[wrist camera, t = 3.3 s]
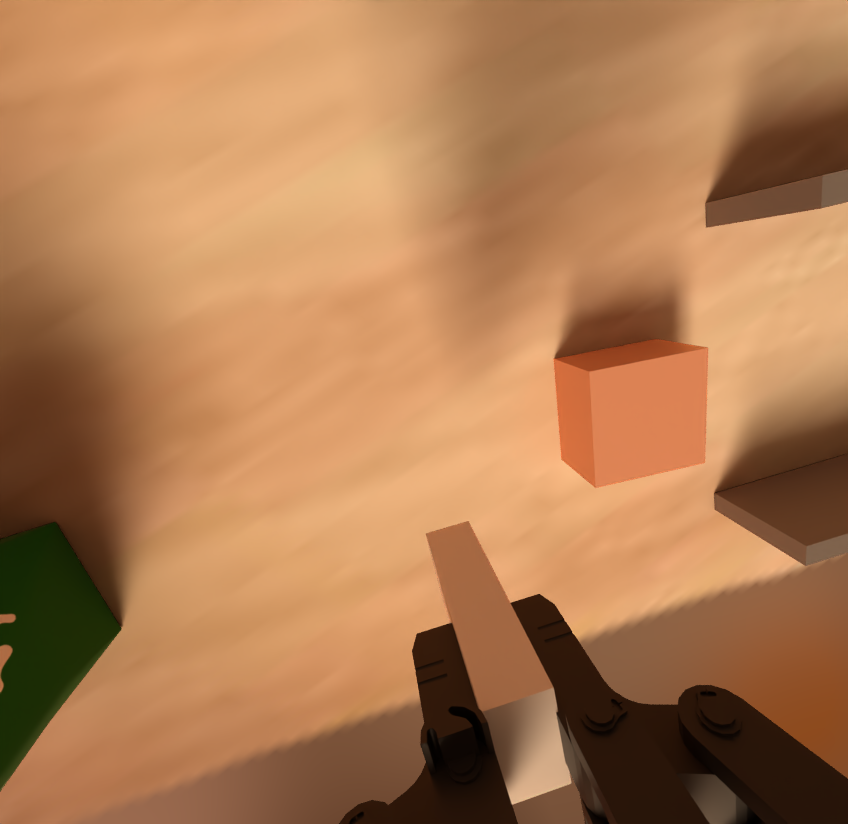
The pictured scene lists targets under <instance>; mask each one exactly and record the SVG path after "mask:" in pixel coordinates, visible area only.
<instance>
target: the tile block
mask: <svg viewBox="0 0 848 824" xmlns="http://www.w3.org/2000/svg"><path fill="white" fill-rule="evenodd" d="M554 369H555V382H556V395H557V408H558V421H559V434H560V446H561V459H562V460H563V461H564V462H565V463H566V464H567V465H569V466H570V467H571V468H572V469H573V470H575V471H576V472H577V473H578V474H579V475H581V476H582V477H583V478H584V479H585V480H587V481H588V482H589V483H590V484H591V485H593V486H594V487H595V488H597V487H602V486H606V485H610V484H615V483H619V482H624V481H628V480H632V479H637V478H641V477H645V476H650V475H654V474H658V473H663V472H667V471H672V470H676V469H680V468H685V467H689V466H693V465H698V464H702V463H705V445H706V408H707V370H708V348H706V347H700V346H695V345H689V344H683V343H677V342H671V341H666V340H660V339H653V340H648V341H642V342H637V343H632V344H627V345H622V346H617V347H612V348H607V349H602V350H597V351H591V352H586V353H581V354H576V355H571V356H566V357H561V358H556V359H554Z"/></svg>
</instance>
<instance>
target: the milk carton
mask: <svg viewBox="0 0 848 824" xmlns="http://www.w3.org/2000/svg"><path fill="white" fill-rule="evenodd" d="M120 631H121V627H120V625H119V624H118V622H117V621H116V619H115V617H114V616H113V614H112V612H111V611H110V609H109V608H108V606H107V604H106V603H105V601H104V600H103V598H102V596H101V595H100V593H99V591H98V590H97V588H96V587H95V585H94V583H93V582H92V580H91V579H90V577H89V575H88V574H87V572H86V570H85V569H84V567H83V566H82V564H81V562H80V561H79V559H78V558H77V556H76V554H75V553H74V551H73V549H72V548H71V546H70V545H69V543H68V541H67V540H66V538H65V537H64V535H63V533H62V532H61V530H60V528H59V527H58V525H57V524H56V522H53V523H50V524H47V525H44V526H40V527H37V528H34V529H31V530H28V531H24V532H21V533H18V534H15V535H12V536H8V537H5V538H2V539H0V791H1V790H2V788H3V787H4V786H5V784H6V783H7V781H8V780H9V779H10V777H11V776H12V774H13V773H14V771H15V770H16V769H17V767H18V766H19V764H20V763H21V761H22V760H23V759H24V757H25V756H26V754H27V753H28V751H29V750H30V749H31V747H32V746H33V744H34V743H35V742H36V740H37V739H38V737H39V736H40V734H41V733H42V732H43V730H44V729H45V727H46V726H47V725H48V723H49V722H50V721H51V719H52V718H53V717H54V715H55V714H56V713H57V711H58V710H59V709H60V708H61V706H62V705H63V704H64V702H65V701H66V700H67V699H68V697H69V696H70V695H71V694H72V692H73V691H74V690H75V688H76V687H77V686H78V685H79V683H80V682H81V681H82V679H83V678H84V677H85V676H86V674H87V673H88V672H89V670H90V669H91V668H92V667H93V665H94V664H95V663H96V661H97V660H98V659H99V658H100V656H101V655H102V654H103V652H104V651H105V650H106V649H107V647H108V646H109V645H110V643H111V642H112V641H113V640H114V638H115V637H116V636H117V634H118V633H119V632H120Z"/></svg>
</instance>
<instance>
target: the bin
mask: <svg viewBox="0 0 848 824" xmlns="http://www.w3.org/2000/svg"><path fill="white" fill-rule="evenodd" d="M845 202H848V169H846V170H841V171H837V172H833V173H829V174H825V175H821V176H817V177H812V178H808V179H804V180H800V181H796V182H792V183H787V184H783V185H779V186H775V187H771V188H767V189H762V190H758V191H754V192H750V193H746V194H742V195H737V196H733V197H729V198H725V199H721V200H717V201H712V202H708V203H706V227H713V226H719V225H725V224H731V223H737V222H743V221H749V220H755V219H760V218H766V217H772V216H778V215H784V214H790V213H796V212H802V211H808V210H814V209H820V208H825V207H829V206H833V205H837V204H841V203H845ZM714 494H715V510H716V511H718V512H720V513H721V514H723V515H724V516H726V517H728V518H729V519H731V520H733V521H734V522H736V523H737V524H739V525H741V526H742V527H744V528H745V529H747V530H749V531H750V532H752V533H753V534H755V535H757V536H758V537H760V538H762V539H763V540H765V541H766V542H768V543H770V544H771V545H773V546H774V547H776V548H778V549H779V550H781V551H782V552H784V553H786V554H787V555H789V556H791V557H792V558H794V559H795V560H797V561H799V562H800V563H802V564H803V565H805V566H807V565H810V564H813V563H817V562H820V561H823V560H826V559H829V558H832V557H836V556H839V555H842V554H845V553H848V454H845V455H842V456H839V457H835V458H832V459H829V460H825V461H822V462H818V463H815V464H812V465H808V466H805V467H802V468H798V469H795V470H791V471H788V472H785V473H781V474H778V475H775V476H771V477H768V478H764V479H761V480H758V481H754V482H751V483H748V484H744V485H741V486H737V487H734V488H731V489H727V490H724V491H721V492H717V493H714Z"/></svg>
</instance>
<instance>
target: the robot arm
mask: <svg viewBox="0 0 848 824" xmlns="http://www.w3.org/2000/svg"><path fill="white" fill-rule="evenodd" d="M426 537H427V541H428V545H429V548H430V552H431V556H432V560H433V564H434V567H435V571H436V575H437V579H438V583H439V586H440V590H441V594H442V598H443V601H444V605H445V608H446V611H447V615H448V618H449V621H450V623H449V624H446V625H443V626H440V627H437V628H434V629H430V630H427V631H424V632H421V633H418V634H417V635H416V639H415V642H414V646H413V650H412V653H413V659H414V665H415V670H416V677H417V683H418V689H419V695H420V700H421V706H422V712H423V718H424V725H423V727H422V730H421V748H422V751H423V754H424V757H425V760H426V764H425V766H424V769H423V771H422V773H421V775H420V776H419V777H418V779H417V781H416V782H415V783H414V784H413V785H412V786H411V787H410V788H409V789H408V790H407V791H406V792H405V793H403V794H402V795H401V796H400V797H398V798H397V799H396V800H394V801H393V802H392V803H391V804H389V805H387V804H386V803H385V802H380V801H374V800H371V801H368V802H365V803H361V804H358V805H357V806H356V807H354V808H353V809H352V810H351V811H350V812H348V813H347V814H346V815H345V816H344V818H343V819H342V820H341V822H340V823H339V824H518V822H517V820H516V816H515V813H514V810H513V807H512V804H515V803H518V802H521V801H524V800H526V799H529V798H532V797H535V796H538V795H540V794H543V793H546V792H549V791H552V790H554V789H557V788H560V787H563V786H565V785H568V784H571V779H570V773H571V775H572V778H573V780H574V782H575V784H576V786H577V789H578V791H579V793H580V798H581V804H582V810H583V815H584V821H585V824H848V779H847V778H846V777H845V776H843V775H842V774H841V773H839V772H838V771H837V770H835V769H834V768H833V767H832V766H830V765H829V764H828V763H826V762H825V761H824V760H822V759H821V758H820V757H818V756H817V755H816V754H814V753H813V752H812V751H810V750H809V749H808V748H806V747H805V746H804V745H802V744H801V743H800V742H798V741H797V740H796V739H794V738H793V737H792V736H790V735H789V734H788V733H786V732H785V731H784V730H783V729H781V728H780V727H778V726H777V725H776V724H774V723H773V722H772V721H771V720H769V719H768V718H767V717H765V716H764V715H763V714H761V713H760V712H759V711H757V710H756V709H755V708H753V707H752V706H751V705H750V704H748V703H747V702H746V701H744V700H743V699H742V698H740V697H738V696H736V695H734V694H733V693H731V692H730V691H728V690H726V689H722V688H719V687H715V686H712V685H696V686H694V687H691V688H689V689H686V690H685V691H684V692H683V693H682V695H681V696H680V697H679V700H678V705H650V704H641V703H637V702H634V701H630V700H628V699H626V698H624V697H622V696H621V695H620V694H618V693H616V692H615V691H613V690H612V689H611V688H610V687H609V686H608V685H607V683H606V682H605V681H604V680H603V678H602V677H601V675H600V674H599V672H598V671H597V669H596V667H595V666H594V665H593V663H592V661H591V660H590V658H589V657H588V655H587V654H586V652H585V650H584V649H583V647H582V646H581V644H580V643H579V641H578V640H577V638H576V637H575V635H574V634H573V633H572V631H571V629H570V627H569V626H568V624H567V623H566V622H565V621H564V618H563V617H562V615H561V614H560V612H559V611H558V609H557V607H556V606H555V604H553V603H552V602H550V601H549V600H547V599H546V598H544V597H543V596H542V595H540V594H537V595H534V596H531V597H528V598H525V599H521V600H518V601H515V602H512V603H510V601H509V599H508V598H507V596H506V594H505V592H504V590H503V588H502V586H501V584H500V582H499V580H498V578H497V576H496V574H495V572H494V570H493V568H492V566H491V564H490V562H489V560H488V558H487V556H486V555H485V553H484V551H483V549H482V547H481V545H480V543H479V541H478V539H477V537H476V535H475V533H474V531H473V529H472V527H471V525H470V523H469V521H467V522H464V523H460V524H457V525H453V526H450V527H447V528H443V529H440V530H436V531H433V532H430V533H426ZM569 771H570V773H569Z"/></svg>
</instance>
